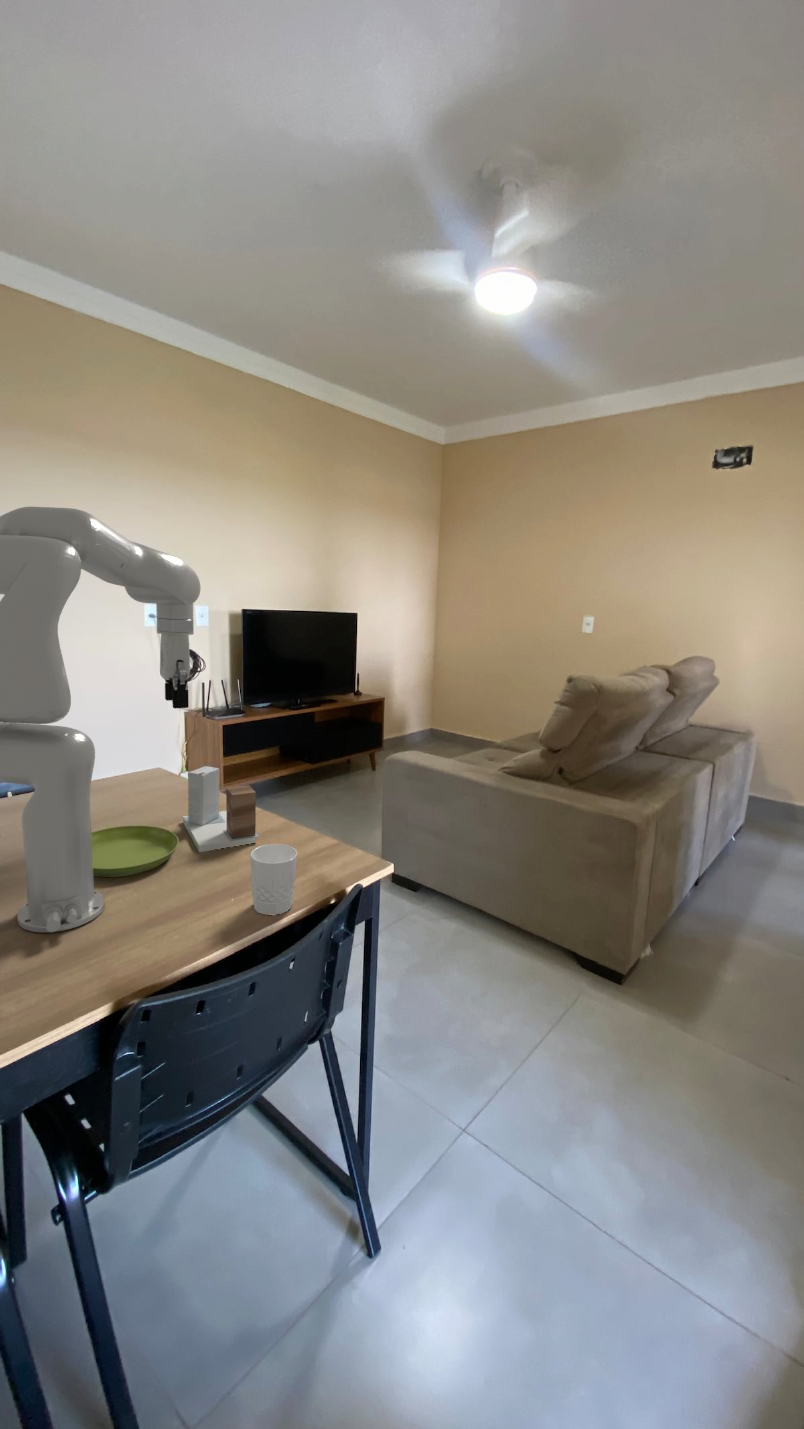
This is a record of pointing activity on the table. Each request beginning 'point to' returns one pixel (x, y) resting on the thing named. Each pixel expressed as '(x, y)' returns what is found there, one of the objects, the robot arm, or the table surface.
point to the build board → (214, 834)
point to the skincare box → (203, 795)
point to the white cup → (273, 878)
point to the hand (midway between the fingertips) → (176, 703)
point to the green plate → (130, 849)
